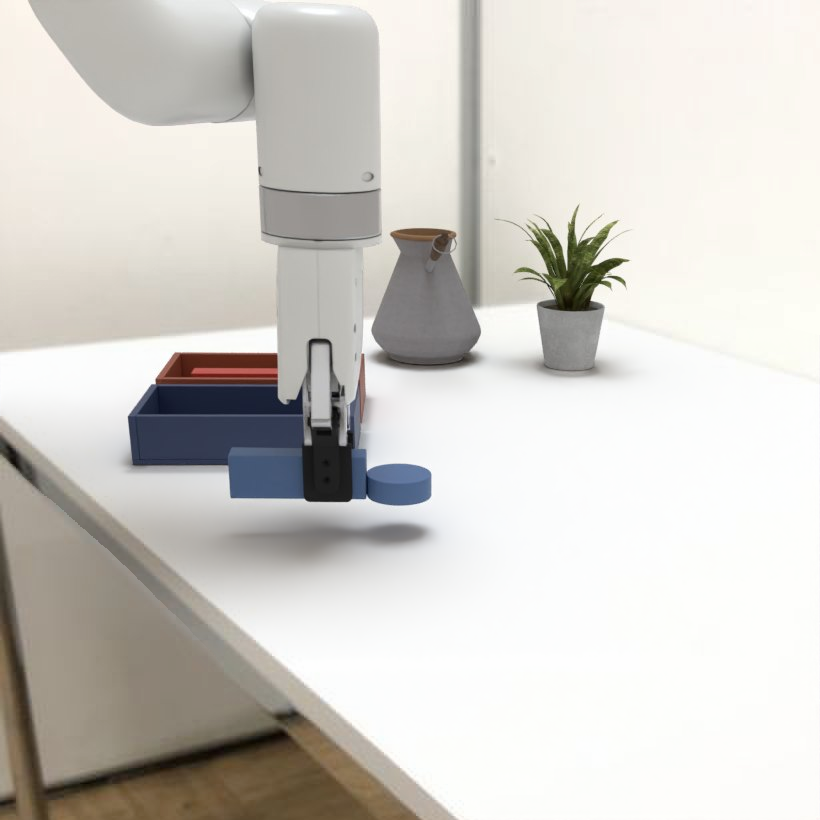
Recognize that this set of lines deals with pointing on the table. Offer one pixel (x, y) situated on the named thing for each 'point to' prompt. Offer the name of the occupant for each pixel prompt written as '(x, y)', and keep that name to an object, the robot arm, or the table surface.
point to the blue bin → (216, 422)
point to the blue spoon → (283, 477)
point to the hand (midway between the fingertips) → (329, 492)
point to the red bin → (185, 363)
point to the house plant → (571, 296)
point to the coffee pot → (425, 302)
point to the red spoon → (235, 372)
